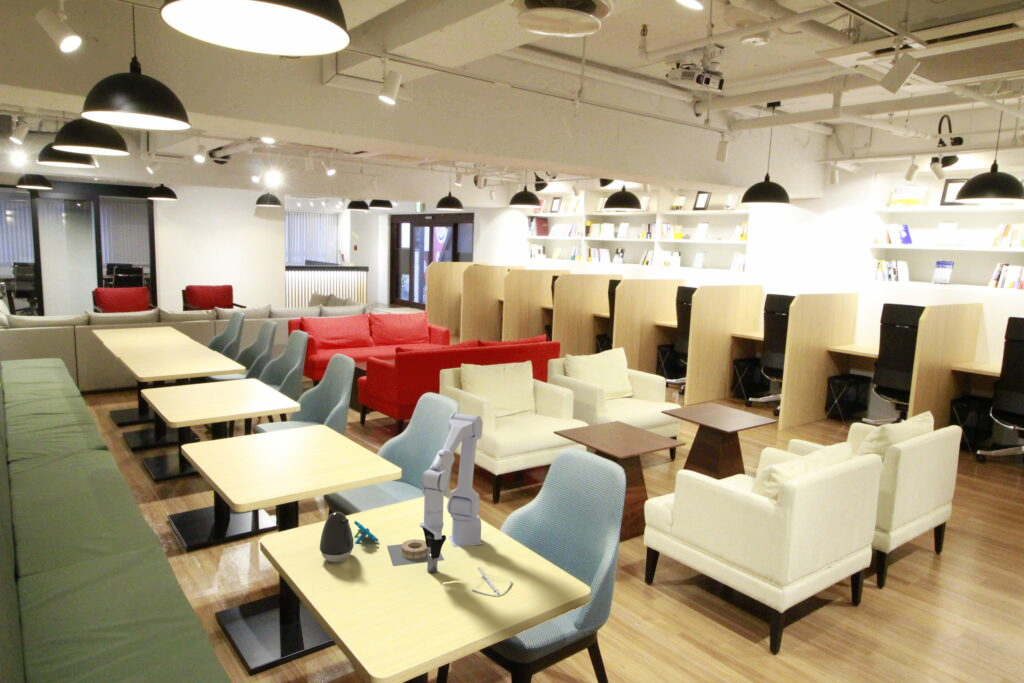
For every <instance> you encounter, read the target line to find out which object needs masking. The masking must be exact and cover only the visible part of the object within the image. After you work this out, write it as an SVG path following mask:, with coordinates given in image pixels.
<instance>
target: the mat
mask: <svg viewBox="0 0 1024 683" xmlns="http://www.w3.org/2000/svg"><path fill="white" fill-rule="evenodd" d="M402 544H403V543H401V544H391V545H386V549H387V551H388V554H389V557H390V561H391V563H392V564H391V565H392V567H397V566H406V565H414V564H422V563H428V555H427V556H425V557H423V558H420V559H408V558H405V557H403V556H402V554H401V545H402ZM429 552H430V547H429ZM438 561H445V559H444V556H443V554H442V552H440V556H439V558H438Z"/></svg>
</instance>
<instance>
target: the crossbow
mask: <svg viewBox="0 0 1024 683" xmlns="http://www.w3.org/2000/svg"><path fill="white" fill-rule="evenodd" d="M477 570H478V571H479V573H480V575H481V577H480V578H479V580H478V581H477V582H476V584H478V583H479V582H480V580H481V579H482V578H483V579H484V581H485V582H486V583H487V585H488V586H489V588H491V590H492V591H493V593H494V594H491V593H486V592H483V591H481V590H480V591H479V590H477V589H474V588H476V585H474V586H473V587H472V588H471V592H473V593H477V594H480V595H485V596H488V595H489V596H490V597H496V596H498V597H501V595H502V596H504V595H505V594H506V593H508V591H509V590H510V588H511V587H512V584H513V580H509V579H504V578H500V579H501V580H504V581H508V582H510V584H509V585H508V587H507V588H506V590H505V591H504V592H502V593H500V591H499V589H498V588H497V586H495V585H494V583H493V581H492V580H491V579H490V577H489V576H491V577H492V575H491V574H487V573H486V572H485V571H484V570H483V567H482V566H478V567H477ZM493 577H494V578H499V576H494V575H493ZM510 586H511V587H510ZM508 589H509V590H508ZM495 593H496V594H495ZM503 594H504V595H503Z"/></svg>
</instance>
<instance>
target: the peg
mask: <svg viewBox="0 0 1024 683" xmlns="http://www.w3.org/2000/svg"><path fill="white" fill-rule="evenodd" d="M426 572H427V573H428V574H432V575H433V574H436V573H437V572H438V558H434V559H432V557H431V552H429V553H428V562H427V570H426Z"/></svg>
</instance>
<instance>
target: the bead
mask: <svg viewBox="0 0 1024 683" xmlns="http://www.w3.org/2000/svg"><path fill="white" fill-rule="evenodd" d="M401 544H402V545H401V554H402V556H403V557H405V558H408V559H420V558H423V557H425V556H427V555H428V553H429V547H427V546H426V541H425V540H424V539H409V540H405V541H403V542H402V543H401Z"/></svg>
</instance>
